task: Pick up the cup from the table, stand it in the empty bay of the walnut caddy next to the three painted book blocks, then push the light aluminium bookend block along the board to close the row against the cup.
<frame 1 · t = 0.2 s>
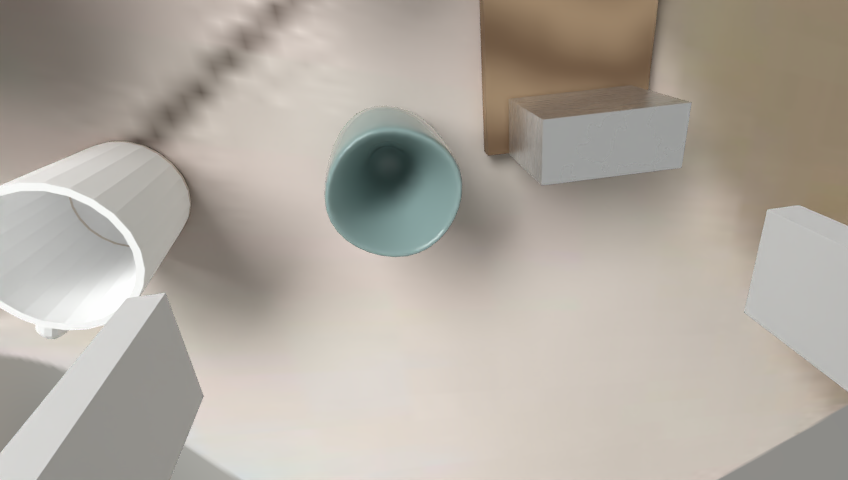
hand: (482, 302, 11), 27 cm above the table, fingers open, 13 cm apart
bookend: (589, 131, 32), point 5 cm above the table, slide at 0.0 cm
mug 2: (131, 206, 36), on the table
cup: (384, 149, 36), on the table
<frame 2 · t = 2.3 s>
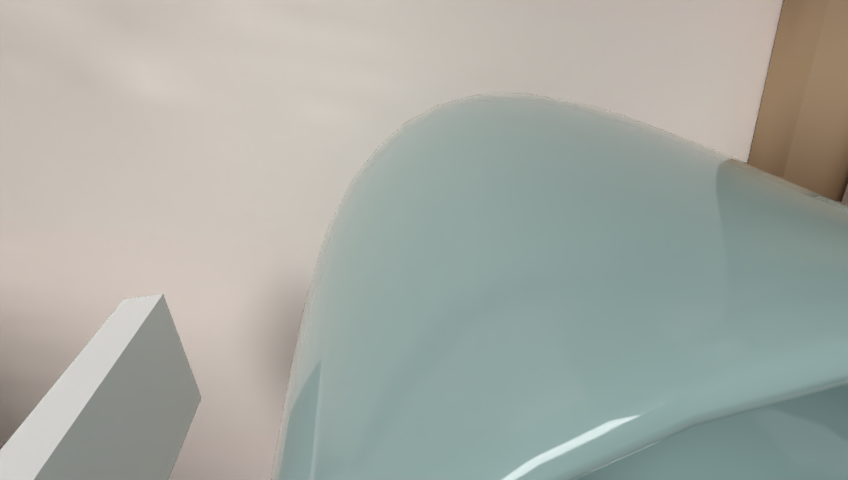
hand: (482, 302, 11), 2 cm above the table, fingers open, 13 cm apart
cup: (470, 218, 13), on the table
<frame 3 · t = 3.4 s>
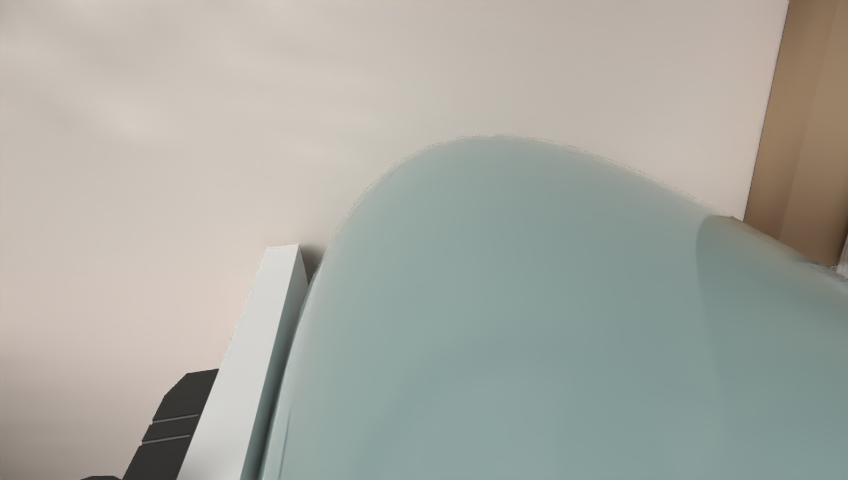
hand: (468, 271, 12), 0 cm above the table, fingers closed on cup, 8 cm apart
cup: (465, 253, 12), on the table, touching gripper
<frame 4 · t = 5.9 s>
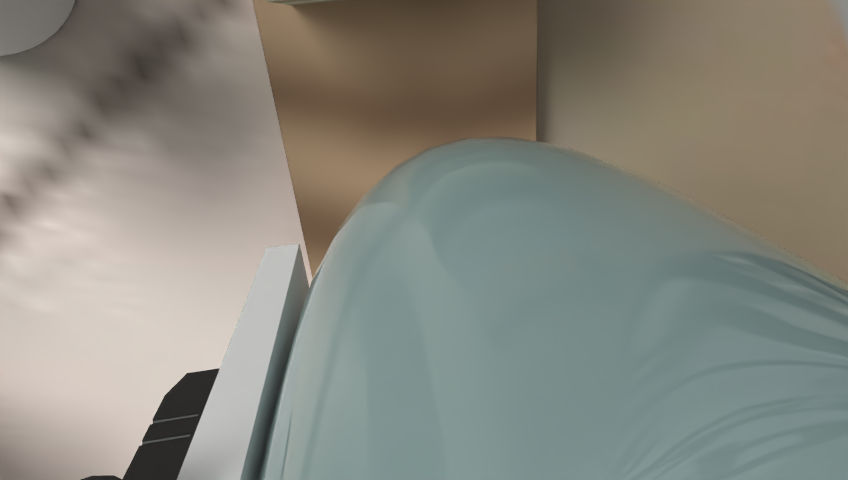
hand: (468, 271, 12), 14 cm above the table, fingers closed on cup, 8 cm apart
caddy: (407, 95, 23), on the table
cup: (465, 255, 12), point 13 cm above the table, touching gripper
when the fingers open (2 cm above the table, at t = 8.2 s): cup stays where it is, resting on caddy.
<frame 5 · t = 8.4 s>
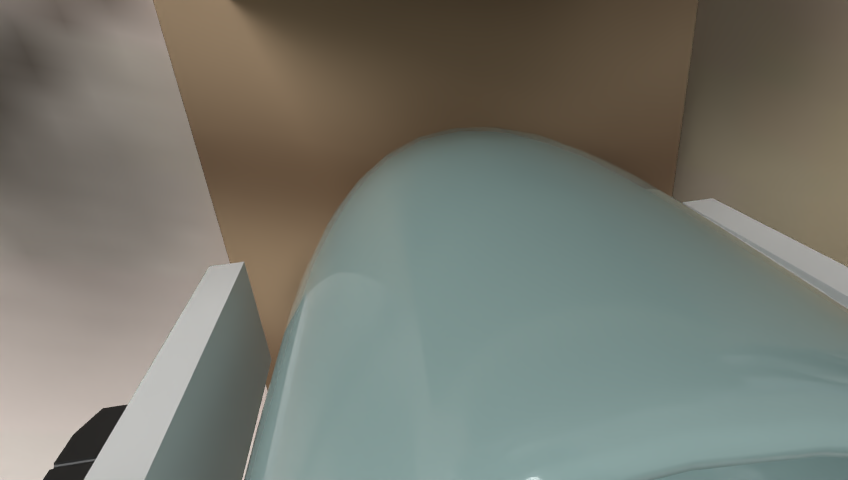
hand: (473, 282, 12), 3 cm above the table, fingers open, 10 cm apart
caddy: (446, 158, 13), on the table
cup: (458, 238, 13), point 1 cm above the table, touching caddy
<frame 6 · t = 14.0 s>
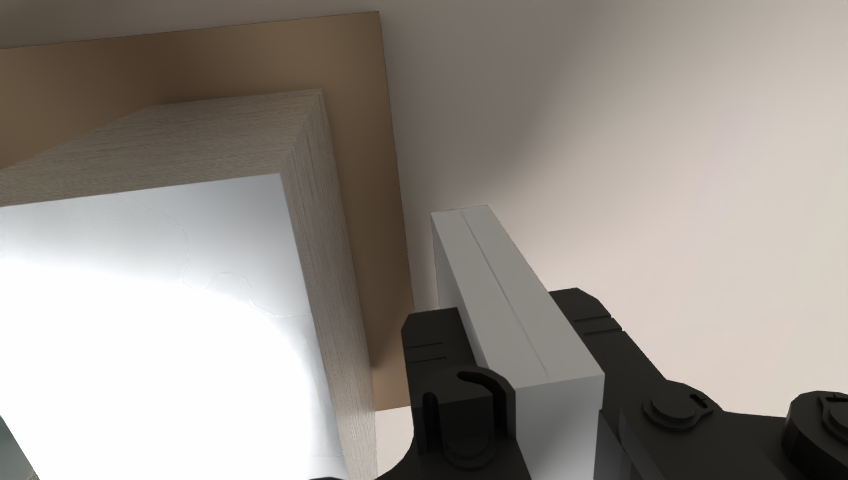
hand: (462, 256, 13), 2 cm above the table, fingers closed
bookend: (253, 342, 10), point 5 cm above the table, slide at 1.6 cm, touching gripper
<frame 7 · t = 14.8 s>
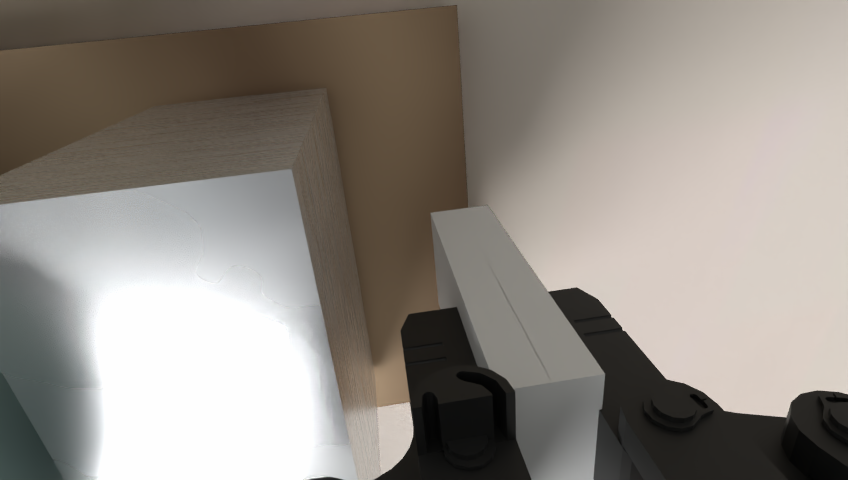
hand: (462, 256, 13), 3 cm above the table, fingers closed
bookend: (259, 337, 10), point 5 cm above the table, slide at 3.4 cm, touching gripper
cup: (50, 286, 14), point 1 cm above the table, touching caddy
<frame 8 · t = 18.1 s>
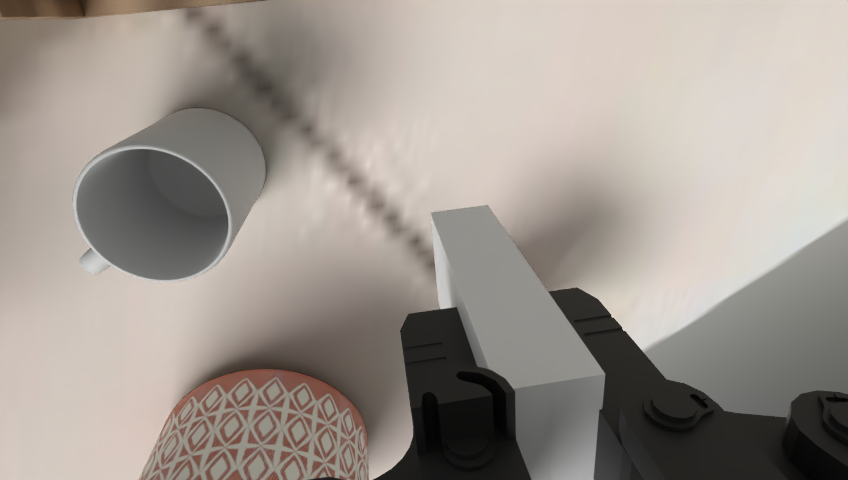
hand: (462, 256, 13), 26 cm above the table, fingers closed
mug: (192, 177, 37), on the table
planter: (271, 434, 49), on the table
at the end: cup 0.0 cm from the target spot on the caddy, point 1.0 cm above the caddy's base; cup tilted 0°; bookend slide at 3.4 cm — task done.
